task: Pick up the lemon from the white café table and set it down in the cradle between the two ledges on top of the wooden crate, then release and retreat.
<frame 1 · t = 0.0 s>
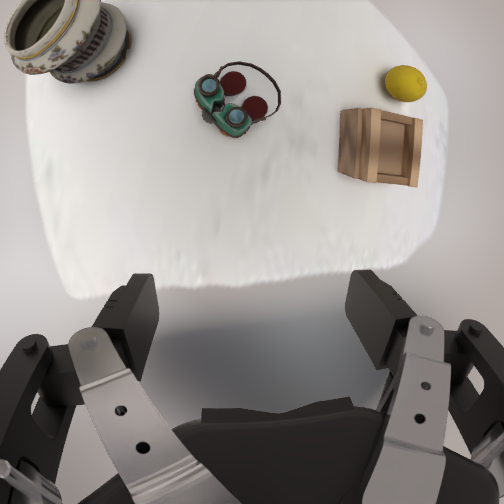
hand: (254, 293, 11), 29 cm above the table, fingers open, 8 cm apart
lemon: (390, 86, 34), on the table
apothecary jar: (101, 50, 28), on the table
wooden crate: (367, 144, 37), on the table
binoculars: (236, 100, 34), on the table
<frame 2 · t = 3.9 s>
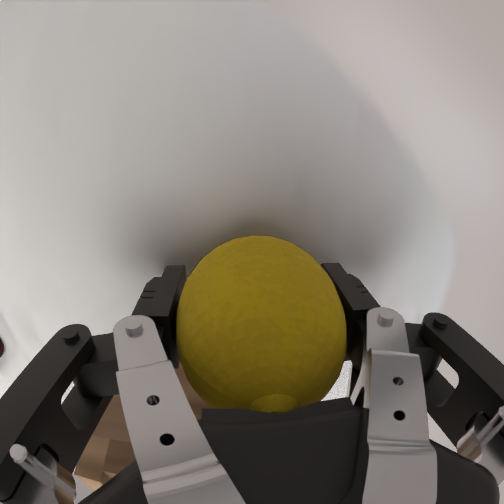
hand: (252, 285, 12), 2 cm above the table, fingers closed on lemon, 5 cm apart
lemon: (250, 266, 13), on the table, touching gripper
wooden crate: (188, 402, 17), on the table
when the fingers open (10 cm above the table, at t = 8.3 s): lemon drops 2 cm, resting on wooden crate.
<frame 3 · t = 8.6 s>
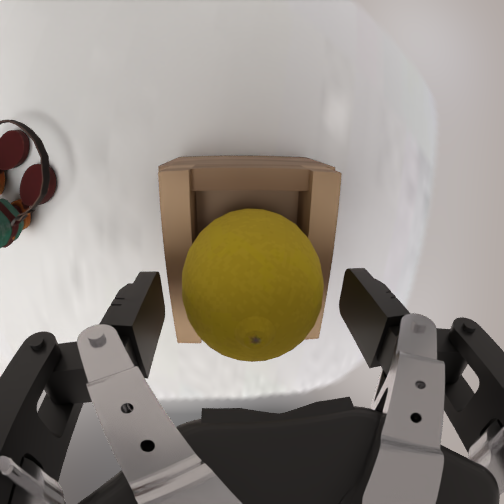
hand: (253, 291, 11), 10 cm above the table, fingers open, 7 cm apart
lemon: (249, 245, 15), point 6 cm above the table, touching wooden crate
wooden crate: (242, 216, 21), on the table
binoculars: (25, 170, 18), on the table
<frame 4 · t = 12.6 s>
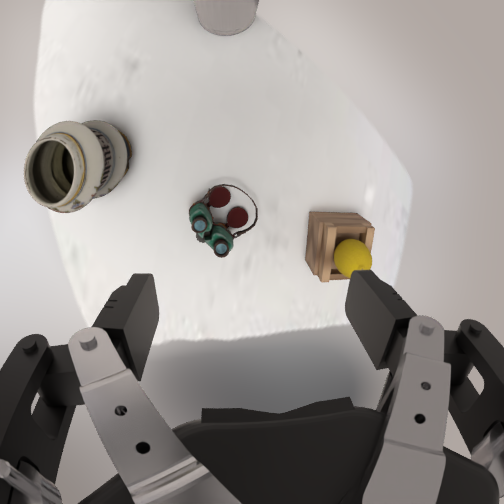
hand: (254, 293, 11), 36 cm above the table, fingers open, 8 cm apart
lemon: (343, 248, 44), point 6 cm above the table, touching wooden crate
apothecary jar: (106, 156, 41), on the table
wooden crate: (331, 236, 50), on the table
binoculars: (223, 208, 47), on the table
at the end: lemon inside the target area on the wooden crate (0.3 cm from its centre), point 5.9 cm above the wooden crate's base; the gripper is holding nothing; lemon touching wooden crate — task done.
